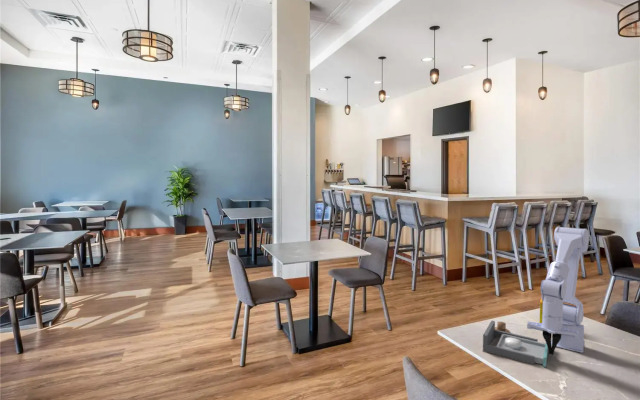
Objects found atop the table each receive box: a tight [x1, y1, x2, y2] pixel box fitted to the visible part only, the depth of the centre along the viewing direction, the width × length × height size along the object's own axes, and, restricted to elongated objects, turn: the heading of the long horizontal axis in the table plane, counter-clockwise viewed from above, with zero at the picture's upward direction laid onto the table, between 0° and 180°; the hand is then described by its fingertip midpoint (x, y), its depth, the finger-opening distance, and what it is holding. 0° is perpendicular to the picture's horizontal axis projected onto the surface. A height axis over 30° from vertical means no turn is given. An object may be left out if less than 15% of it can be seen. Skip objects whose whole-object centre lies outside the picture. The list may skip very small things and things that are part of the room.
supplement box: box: [538, 297, 543, 323], centre depth 144 cm, size 6×6×11 cm
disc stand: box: [495, 321, 511, 333], centre depth 139 cm, size 6×6×4 cm
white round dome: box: [505, 338, 522, 350], centre depth 125 cm, size 5×5×2 cm
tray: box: [496, 334, 549, 368], centre depth 123 cm, size 15×16×3 cm
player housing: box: [482, 320, 539, 365], centre depth 125 cm, size 16×16×6 cm
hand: (551, 353), depth 118 cm, fingers closed
